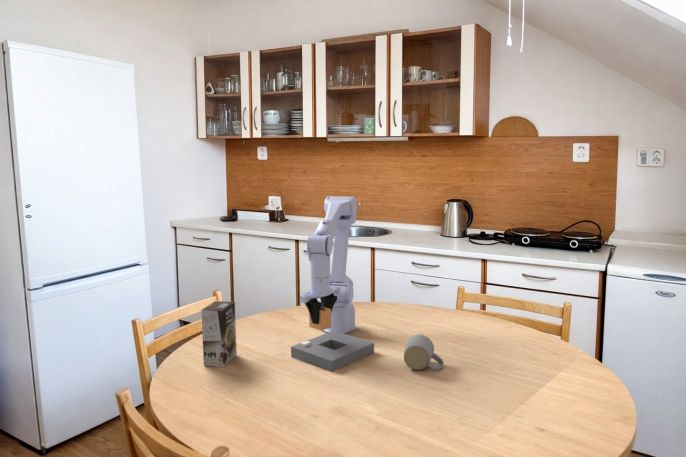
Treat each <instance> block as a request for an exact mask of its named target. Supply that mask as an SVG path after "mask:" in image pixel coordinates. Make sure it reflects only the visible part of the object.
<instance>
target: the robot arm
mask: <svg viewBox="0 0 686 457" xmlns="http://www.w3.org/2000/svg"><path fill="white" fill-rule="evenodd" d="M357 202H358V201H357V198H356V197H355V196H354V195H353V196H330V195H328V196H326V198H325V199H324V206H323V207H324V208H323V209H324V213H325V218H324V219H323V220H321V221H319V223H318V226H317V228H316V229H315V232H314V234H313V235H311V236H309V237H308V238H307V242H306V252H307V255H308V256H307V257H308V261H309V262H310V263H309V264H310V267H309V268H310V270H309V271H310V288H309V290H308V291H307V292H305V293H303V294H300V295H299V302H300V303H304V305H305V307H306V308H307V310H308V313H310V316H311V320H312V323H314V324H319V313H320V308H321V304H322V303H324V307H325V308H329V309H331V328H328V329H325V330H322V332H325V333H329V332H331V331H337V332H340V333H344V334H347V333H349V332H351V331H355V330H357V329H358V326H356V308H355V305H354V303H352V302H353V300H354V282H353V279H351V278H350V277H349V276H348V275H346V271H347V262H348V260H347V259H348V251H349V238H350V237H349V236H350V229H351V226H352V225H354V224H355V223H356V221H357V212H358V211H357V210H358V203H357ZM331 256H332V261H331ZM331 262H332V263H331ZM318 299H320V301H319V300H318Z"/></svg>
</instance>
